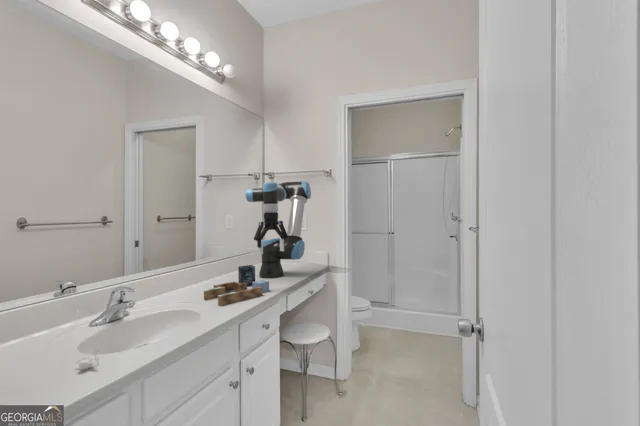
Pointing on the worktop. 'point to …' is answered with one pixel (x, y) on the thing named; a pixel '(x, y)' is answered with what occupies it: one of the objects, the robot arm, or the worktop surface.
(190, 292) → the worktop surface
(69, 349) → the worktop surface
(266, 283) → the block
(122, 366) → the worktop surface
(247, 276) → the box
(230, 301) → the wooden zigzag frame
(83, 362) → the dove figurine
